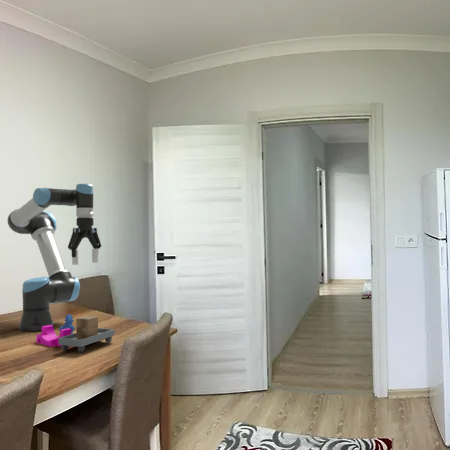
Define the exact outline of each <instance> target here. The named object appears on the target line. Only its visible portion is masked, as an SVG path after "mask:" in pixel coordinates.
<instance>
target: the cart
mask: <svg viewBox="0 0 450 450" xmlns="http://www.w3.org/2000/svg"><path fill="white" fill-rule="evenodd" d="M114 336H115V329H114V328H103V327H101V328H100V327H98V334H97V335H94V336H91V337H88V338H85V339H79V338H77V336H76V332H75V333H73V334H71V335H68V336H64V337H61V338H59V345H62V347H61V350H62V351H64V352H65V351H68V350H69V348H70V347H77V352H78V353H84V352H85V351H86V346H89V345H90V344H93V343H97V342H99V341H102V340H105V342H106V343H111V342H112V339H113V338H112V337H114Z"/></svg>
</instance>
